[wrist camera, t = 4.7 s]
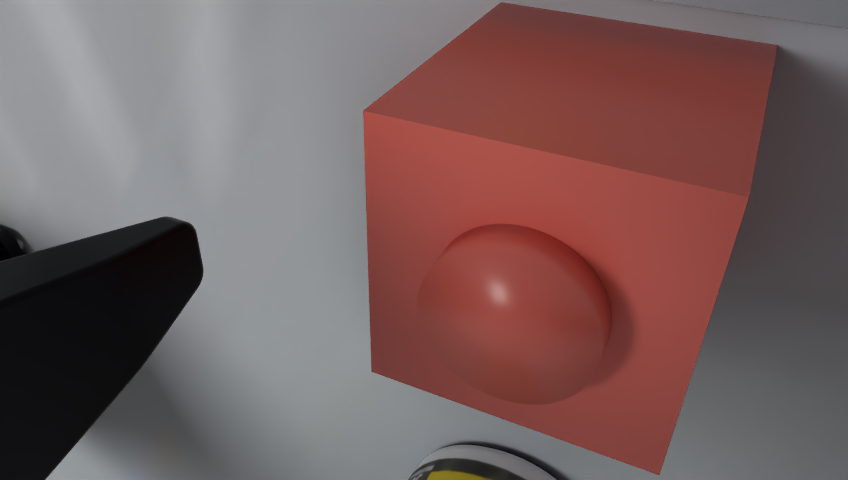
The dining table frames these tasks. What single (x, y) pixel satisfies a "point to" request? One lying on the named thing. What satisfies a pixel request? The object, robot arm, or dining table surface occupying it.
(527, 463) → the supplement bottle
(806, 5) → the panel
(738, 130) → the red block
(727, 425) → the dining table surface
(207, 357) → the dining table surface
